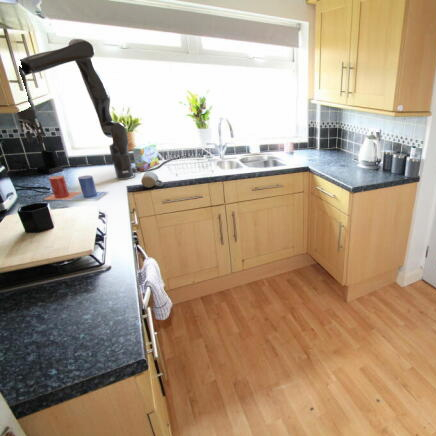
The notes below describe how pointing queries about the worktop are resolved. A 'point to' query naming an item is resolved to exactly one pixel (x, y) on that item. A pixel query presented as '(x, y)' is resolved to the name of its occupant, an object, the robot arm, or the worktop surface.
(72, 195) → the sorting board
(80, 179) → the blue upright cylinder
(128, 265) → the worktop surface
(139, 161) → the snack box
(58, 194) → the red upright cylinder
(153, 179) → the ceramic mug
